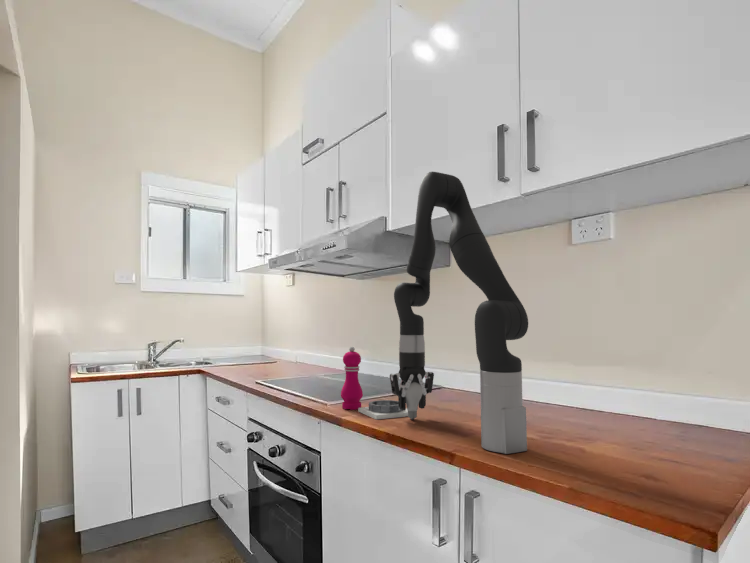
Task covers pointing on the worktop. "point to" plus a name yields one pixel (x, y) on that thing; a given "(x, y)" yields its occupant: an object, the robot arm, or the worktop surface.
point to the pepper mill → (351, 381)
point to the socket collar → (384, 406)
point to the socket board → (382, 415)
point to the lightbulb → (413, 399)
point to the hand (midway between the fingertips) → (412, 408)
